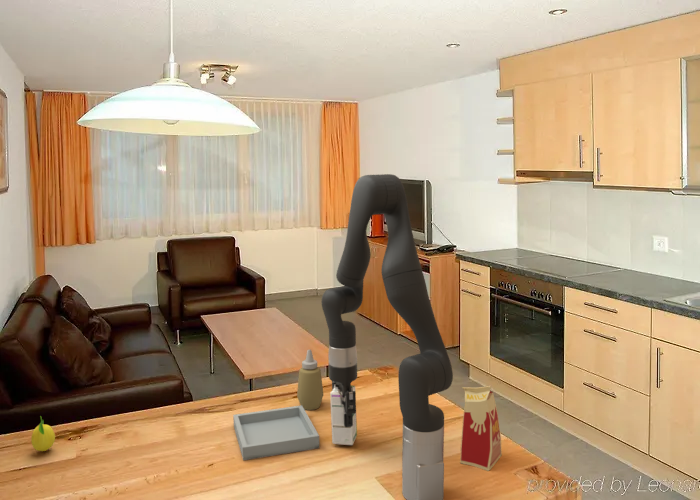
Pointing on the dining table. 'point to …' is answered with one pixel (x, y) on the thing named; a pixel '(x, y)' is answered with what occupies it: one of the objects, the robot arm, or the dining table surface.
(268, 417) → the tray
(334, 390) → the syrup box
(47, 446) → the lemon
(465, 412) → the milk carton
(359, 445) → the dining table surface
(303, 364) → the squeeze bottle
